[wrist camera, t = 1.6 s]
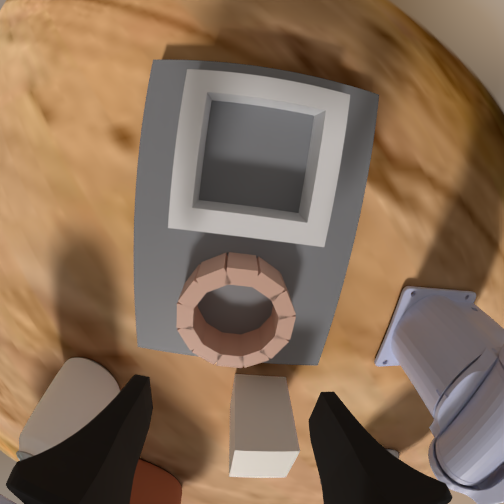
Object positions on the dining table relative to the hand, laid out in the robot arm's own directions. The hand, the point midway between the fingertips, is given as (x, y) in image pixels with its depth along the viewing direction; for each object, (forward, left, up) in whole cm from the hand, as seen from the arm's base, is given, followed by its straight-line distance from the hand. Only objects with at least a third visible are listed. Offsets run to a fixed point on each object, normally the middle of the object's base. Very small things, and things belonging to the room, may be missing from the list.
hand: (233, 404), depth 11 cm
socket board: (0, -5, -10) cm, 12 cm away
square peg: (-3, +10, -10) cm, 15 cm away
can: (+13, +12, -11) cm, 21 cm away
